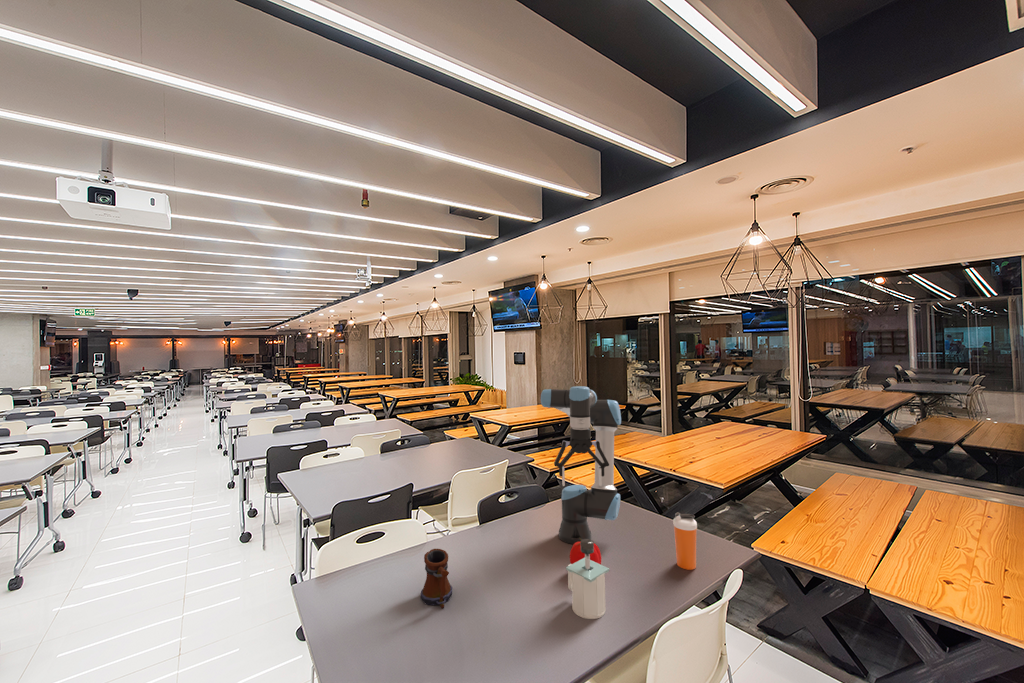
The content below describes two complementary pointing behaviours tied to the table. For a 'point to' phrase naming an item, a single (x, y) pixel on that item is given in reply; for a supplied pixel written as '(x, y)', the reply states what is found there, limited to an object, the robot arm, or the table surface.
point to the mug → (436, 578)
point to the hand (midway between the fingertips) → (581, 485)
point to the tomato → (578, 555)
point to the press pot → (587, 589)
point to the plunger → (587, 551)
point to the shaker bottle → (685, 540)
